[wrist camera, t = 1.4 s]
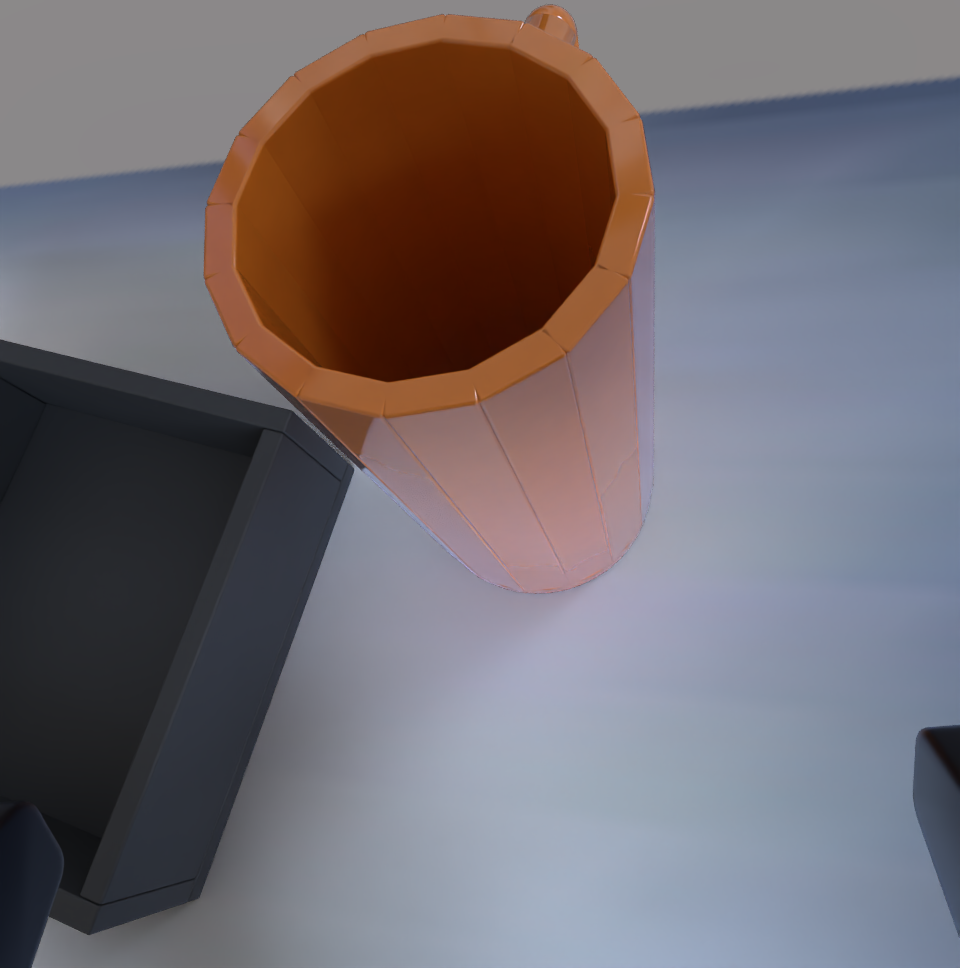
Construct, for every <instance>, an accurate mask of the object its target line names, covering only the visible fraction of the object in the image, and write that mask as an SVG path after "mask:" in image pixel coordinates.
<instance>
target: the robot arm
mask: <svg viewBox="0 0 960 968" xmlns="http://www.w3.org/2000/svg"><path fill="white" fill-rule="evenodd" d="M913 800H914V806H915V811H916V815H917V818H918V821H919V824H920V827H921V830H922V833H923V836H924V839H925V841H926V844H927V847H928V850H929V853H930V856H931V859H932V861H933V864H934V867H935V870H936V873H937V876H938V878H939V881H940V884H941V887H942V890H943V893H944V896H945V898H946V901H947V904H948V907H949V910H950V913H951V916H952V918H953V921H954V924H955V927H956V930H957V933H958V935H959V938H960V725H952V726H939V727H927V728H924V729H921V730H920V731H919V733H918V735H917V737H916V745H915V762H914V780H913ZM63 868H64V857H63V853H62V850H61V848H60V846H59V844H58V843H57V841H56V839H55V838H54V836H53V834H52V832H51V831H50V829H49V827H48V825H47V824H46V822H45V820H44V819H43V817H42V815H41V813H40V812H39V810H38V809H37V807H36V806H35V805H34V804H32V803H31V802H29V801H10V802H0V968H31V967H32V964H33V961H34V958H35V955H36V952H37V949H38V946H39V943H40V940H41V937H42V934H43V931H44V928H45V926H46V923H47V920H48V917H49V914H50V911H51V908H52V905H53V902H54V899H55V896H56V893H57V890H58V887H59V884H60V881H61V878H62V874H63Z"/></svg>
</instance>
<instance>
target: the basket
mask: <svg viewBox="0 0 960 968" xmlns="http://www.w3.org/2000/svg"><path fill="white" fill-rule="evenodd" d="M353 472H354V468H353V467H352V466H351V465H349V464H348V463H347V462H346V461H345V460H344V459H343V458H342V457H341V456H340V455H339V454H338V453H337V452H336V451H335V450H334V449H332V448H331V447H330V446H329V445H328V444H327V443H326V442H325V441H324V440H323V439H322V438H321V437H320V436H319V435H317V434H316V433H315V432H314V431H313V430H312V429H311V428H310V427H309V426H308V425H307V424H306V423H305V422H304V421H302V420H301V419H300V418H299V417H298V416H297V415H296V414H295V413H294V412H293V411H291V410H287V409H283V408H279V407H275V406H271V405H267V404H262V403H258V402H254V401H250V400H246V399H242V398H238V397H234V396H230V395H226V394H221V393H217V392H213V391H209V390H205V389H201V388H197V387H193V386H189V385H185V384H180V383H176V382H172V381H168V380H164V379H160V378H156V377H152V376H148V375H143V374H139V373H135V372H131V371H127V370H123V369H119V368H115V367H111V366H107V365H102V364H98V363H94V362H90V361H86V360H82V359H78V358H74V357H70V356H65V355H61V354H57V353H53V352H49V351H45V350H41V349H37V348H33V347H29V346H24V345H20V344H16V343H12V342H8V341H4V340H0V802H10V801H29V802H31V803H32V804H34V805H35V806H36V807H37V809H38V810H39V812H40V813H41V815H42V817H43V819H44V820H45V822H46V824H47V825H48V827H49V829H50V831H51V832H52V834H53V836H54V838H55V839H56V841H57V843H58V844H59V846H60V848H61V850H62V853H63V857H64V868H63V874H62V878H61V881H60V884H59V887H58V890H57V893H56V896H55V899H54V902H53V905H52V908H51V911H50V914H49V917H51V918H53V919H55V920H58V921H60V922H62V923H64V924H66V925H68V926H70V927H72V928H75V929H77V930H79V931H81V932H83V933H85V934H87V935H91V934H94V933H97V932H100V931H103V930H106V929H109V928H112V927H115V926H118V925H121V924H124V923H127V922H130V921H133V920H136V919H139V918H142V917H145V916H148V915H151V914H154V913H157V912H160V911H163V910H166V909H169V908H172V907H175V906H178V905H181V904H184V903H186V902H188V901H192V900H195V899H198V898H199V897H200V894H201V891H202V888H203V886H204V883H205V880H206V877H207V875H208V872H209V869H210V866H211V864H212V861H213V858H214V855H215V853H216V850H217V847H218V844H219V842H220V839H221V836H222V833H223V831H224V828H225V825H226V822H227V820H228V817H229V814H230V811H231V809H232V806H233V803H234V800H235V798H236V795H237V792H238V789H239V787H240V784H241V781H242V778H243V775H244V773H245V770H246V767H247V764H248V762H249V759H250V756H251V753H252V751H253V748H254V745H255V742H256V740H257V737H258V734H259V731H260V729H261V726H262V723H263V720H264V718H265V715H266V712H267V709H268V707H269V704H270V701H271V698H272V696H273V693H274V690H275V687H276V685H277V682H278V679H279V676H280V674H281V671H282V668H283V665H284V663H285V660H286V657H287V654H288V652H289V649H290V646H291V643H292V640H293V638H294V635H295V632H296V629H297V627H298V624H299V621H300V618H301V616H302V613H303V610H304V607H305V605H306V602H307V599H308V596H309V594H310V591H311V588H312V585H313V583H314V580H315V577H316V574H317V572H318V569H319V566H320V563H321V561H322V558H323V555H324V552H325V550H326V547H327V544H328V541H329V539H330V536H331V533H332V530H333V528H334V525H335V522H336V519H337V517H338V514H339V511H340V508H341V505H342V503H343V500H344V497H345V494H346V492H347V489H348V486H349V483H350V481H351V478H352V475H353Z"/></svg>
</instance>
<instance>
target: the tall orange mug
mask: <svg viewBox="0 0 960 968" xmlns="http://www.w3.org/2000/svg"><path fill="white" fill-rule="evenodd" d="M204 279H205V285H206V288H207V290H208V292H209V294H210V296H211V299H212V301H213V303H214V305H215V308H216V310H217V312H218V314H219V316H220V319H221V321H222V323H223V325H224V327H225V330H226V332H227V334H228V336H229V339H230V341H231V343H232V345H233V347H234V348H235V349H236V350H237V352H238V353H239V354H240V355H241V356H242V357H243V358H244V359H245V360H246V361H247V362H248V363H249V364H250V365H252V366H253V367H254V368H255V369H256V370H257V371H258V372H259V373H260V374H261V375H262V376H263V377H264V378H265V379H266V380H267V381H268V382H269V383H270V384H272V385H273V386H274V387H275V388H276V389H277V390H278V391H279V392H280V393H281V394H282V395H283V396H284V397H285V398H286V399H287V400H288V401H289V402H290V403H291V404H293V405H294V406H295V407H296V408H297V409H298V410H299V411H300V412H301V413H302V414H303V415H304V416H305V417H306V418H307V419H308V420H309V421H310V422H311V423H312V424H314V425H315V426H316V427H317V428H318V429H319V430H320V431H321V432H322V433H323V434H324V435H325V436H326V437H327V438H328V439H329V440H330V441H331V442H332V443H334V444H335V445H336V446H337V447H338V448H339V449H340V450H341V451H342V452H343V453H344V454H345V455H346V456H347V457H348V458H349V459H350V460H351V461H352V462H353V463H355V464H356V465H357V466H358V467H359V468H360V469H361V470H362V471H363V472H364V473H365V474H366V475H367V476H368V477H369V478H370V479H371V480H372V481H373V482H374V483H376V484H377V485H378V486H379V487H380V488H381V489H382V490H383V491H384V492H385V493H386V494H387V495H388V496H389V497H390V498H391V499H392V500H393V501H394V502H396V503H397V504H398V505H399V506H400V507H401V508H402V509H403V510H404V511H405V512H406V513H407V514H408V515H409V516H410V517H411V518H412V519H413V520H414V521H415V522H417V523H418V524H419V525H420V526H421V527H422V528H423V529H424V530H425V531H426V532H427V533H428V534H429V535H430V536H431V537H432V538H433V539H434V540H435V541H436V542H438V543H439V544H440V545H441V546H442V547H443V548H444V549H445V550H446V551H447V552H448V553H449V554H450V555H452V556H453V557H454V558H455V559H457V560H458V561H459V562H460V563H462V564H463V565H464V566H465V567H466V568H467V569H468V570H469V571H471V572H472V573H474V574H475V575H476V576H477V577H479V578H481V579H483V580H485V581H487V582H489V583H491V584H493V585H496V586H498V587H501V588H504V589H507V590H512V591H517V592H522V593H535V594H537V593H552V592H558V591H563V590H567V589H570V588H573V587H576V586H580V585H582V584H584V583H586V582H588V581H590V580H592V579H594V578H596V577H597V576H599V575H601V574H602V573H604V572H605V571H607V570H608V569H609V568H610V567H611V566H613V565H614V564H615V563H616V562H617V561H618V560H619V559H620V558H621V557H622V556H623V555H624V554H625V553H626V552H627V551H628V549H629V548H630V546H631V545H632V544H633V542H634V541H635V539H636V538H637V536H638V534H639V532H640V530H641V528H642V526H643V524H644V521H645V518H646V515H647V513H648V509H649V504H650V499H651V492H652V488H653V481H654V297H655V190H654V184H653V178H652V173H651V167H650V161H649V155H648V150H647V144H646V138H645V132H644V127H643V122H642V120H641V119H640V115H639V113H638V112H637V111H636V109H635V108H634V107H633V105H632V104H631V103H630V102H629V100H628V99H627V98H626V96H625V95H624V94H623V93H622V91H621V90H620V89H619V87H618V86H617V85H616V84H615V82H614V81H613V80H612V78H611V77H610V76H609V74H608V73H607V72H606V71H605V69H604V68H603V67H602V65H601V64H600V63H599V62H598V60H597V59H596V58H593V56H592V55H591V54H589V53H587V52H585V51H583V50H581V49H579V45H578V36H577V28H576V24H575V21H574V19H573V18H572V16H571V15H570V14H569V12H568V11H567V10H565V9H564V8H562V7H560V6H557V5H553V4H548V5H543V6H540V7H538V8H536V9H535V10H534V11H532V12H531V13H530V15H529V16H528V17H527V18H526V20H525V22H522V21H517V20H505V19H495V18H484V17H473V16H463V15H452V14H448V15H446V16H445V15H444V14H441V15H437V16H432V17H428V18H424V19H419V20H415V21H411V22H406V23H402V24H398V25H394V26H389V27H385V28H381V29H377V30H372V31H368V32H366V33H365V35H364V34H362V35H359V36H358V37H356V38H354V39H352V40H351V41H349V42H347V43H346V44H344V45H342V46H340V47H339V48H337V49H335V50H333V51H332V52H330V53H328V54H326V55H325V56H323V57H321V58H320V59H318V60H316V61H315V62H313V63H311V64H309V65H308V66H306V67H304V68H302V69H300V70H299V71H297V72H296V73H295V74H294V76H291V77H289V78H288V79H287V80H286V82H285V83H284V84H283V85H282V86H281V87H280V88H279V89H278V90H277V91H276V92H275V93H274V94H273V96H272V97H271V98H270V99H269V100H268V101H267V102H266V103H265V104H264V105H263V106H262V107H261V109H260V110H259V111H258V112H257V113H256V114H255V115H254V116H253V117H252V118H251V119H250V120H249V121H248V122H247V124H246V125H245V126H244V127H243V128H242V129H241V130H240V131H239V135H238V136H236V137H235V139H234V142H233V144H232V146H231V149H230V151H229V153H228V155H227V158H226V160H225V162H224V164H223V167H222V169H221V171H220V173H219V176H218V178H217V180H216V182H215V185H214V187H213V189H212V191H211V194H210V196H209V198H208V200H207V206H206V208H205V241H204Z"/></svg>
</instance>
